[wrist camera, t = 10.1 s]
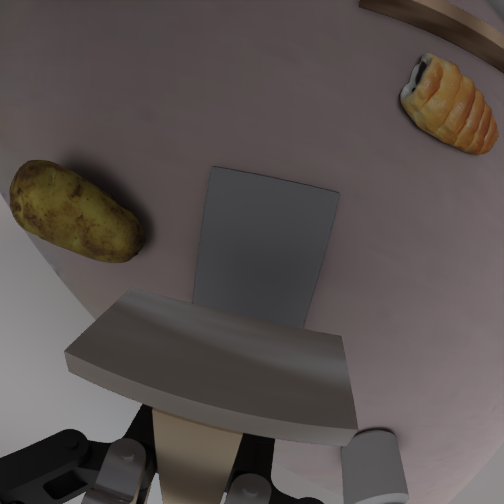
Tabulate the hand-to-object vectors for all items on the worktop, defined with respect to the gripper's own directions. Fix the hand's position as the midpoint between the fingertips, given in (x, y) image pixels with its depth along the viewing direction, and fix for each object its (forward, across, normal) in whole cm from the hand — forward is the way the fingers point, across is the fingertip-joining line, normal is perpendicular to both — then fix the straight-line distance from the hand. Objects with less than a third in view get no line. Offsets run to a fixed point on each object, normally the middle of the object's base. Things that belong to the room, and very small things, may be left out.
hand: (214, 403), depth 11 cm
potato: (+15, +16, -3) cm, 22 cm away
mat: (+15, 0, 0) cm, 15 cm away
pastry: (+15, -12, -18) cm, 27 cm away
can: (+15, -19, +21) cm, 32 cm away
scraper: (+1, 0, +2) cm, 2 cm away
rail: (+15, -12, -25) cm, 32 cm away
